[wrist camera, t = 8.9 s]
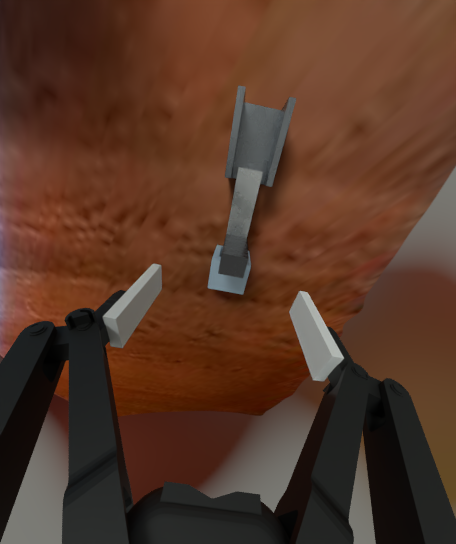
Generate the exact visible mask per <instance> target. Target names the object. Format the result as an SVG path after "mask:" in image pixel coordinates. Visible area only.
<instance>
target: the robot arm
mask: <svg viewBox="0 0 456 544" xmlns="http://www.w3.org/2000/svg"><path fill="white" fill-rule="evenodd" d="M161 290H162V274H161V265H158V264H152V265H151V266H150V267H149V268H148V269H147V270H146V271H145V273H144V274H143V275H142V276H141V277H140V278H139V279H138V280H137V281H136V282H135V283H134V284H133V285H132V286H131V287H130V288H129V289H128V290H127V291H123V290H120V291H118V292H116V293H114V294H113V295H112V296H111V297H110V298H109V299H108V300H107V301H105V303H103V304H102V305H101V306H100V307H99V308H98V309H97V310H96V311H95V312H94V310H92V309H90V308H82V309H78V310H75V311H73V312H71V313H69V314H68V315H67V316H66V318H65V322H66V325H67V326H60V327H55V326H54V324H53V323H52V322H49V321H42V322H38V323H35V324H32V325H30V326H28V327H27V328H25V329H24V330H23V331H22V332H21V333H20V335H19V336H18V338H17V339H16V341H15V342H14V344H13V345H12V347H11V348H10V350H9V351H8V353H7V354H6V356H5V357H4V359H3V360H2V362H1V363H0V542H1V539H2V536H3V533H4V531H5V528H6V525H7V522H8V520H9V517H10V514H11V511H12V508H13V506H14V503H15V500H16V497H17V495H18V492H19V489H20V486H21V483H22V481H23V478H24V475H25V472H26V470H27V467H28V464H29V461H30V458H31V455H32V453H33V450H34V447H35V444H36V442H37V439H38V436H39V433H40V431H41V428H42V425H43V422H44V420H45V417H46V414H47V411H48V408H49V405H50V403H51V400H52V397H53V395H54V392H55V389H56V386H57V383H58V381H59V378H60V375H61V372H62V370H63V367H64V364H65V361H66V360H69V481H68V486H67V489H66V491H65V494H64V499H63V519H62V520H63V521H62V522H63V523H62V544H353V542H354V537H353V531H352V528H351V526H350V525H349V520H348V519H349V510H350V504H351V498H352V492H353V485H354V480H355V473H356V467H357V461H358V454H359V448H360V442H361V436H362V430H363V436H364V445H365V454H366V462H367V471H368V479H369V488H370V497H371V506H372V514H373V523H374V530H375V531H374V532H375V540H376V544H456V518H455V516H454V513H453V511H452V508H451V505H450V502H449V499H448V497H447V494H446V491H445V489H444V486H443V483H442V480H441V478H440V475H439V472H438V470H437V467H436V464H435V461H434V459H433V456H432V454H431V451H430V448H429V445H428V443H427V440H426V437H425V434H424V432H423V429H422V426H421V424H420V421H419V418H418V415H417V413H416V410H415V407H414V405H413V402H412V399H411V397H410V395H409V393H408V392H407V390H406V389H405V388H404V387H403V386H402V385H400V384H399V383H398V382H396V381H394V380H392V379H388V378H386V379H385V380H384V381H382V382H381V381H379V380H377V379H374V378H373V377H370V376H369V375H368V373H367V372H366V371H365V370H364V369H363V368H362V367H361V366H359V365H358V364H356V363H354V362H353V360H352V359H351V357H350V355H349V354H348V352H347V350H346V349H345V347H344V345H343V344H342V342H341V340H340V338H339V337H338V335H337V333H336V332H335V331H334V330H333V329H332V328H331V327H326V325H325V323H324V321H323V319H322V318H321V316H320V314H319V312H318V310H317V309H316V307H315V305H314V303H313V301H312V300H311V298H310V296H309V294H308V292H303V291H299V293H298V295H297V297H296V299H295V301H294V303H293V305H292V307H291V309H290V311H289V313H290V316H291V319H292V322H293V324H294V327H295V330H296V333H297V336H298V339H299V342H300V345H301V347H302V350H303V353H304V356H305V359H306V362H307V365H308V367H309V370H310V373H311V376H312V379H313V380H317V381H324V380H325V379H326V378H327V377H328V379H329V381H330V383H329V384H328V385H327V386H326V387H325V388H324V390H323V391H324V392H325V394H324V396H323V398H322V401H321V403H320V406H319V409H318V412H317V414H316V416H315V419H314V421H313V424H312V426H311V429H310V431H309V434H308V437H307V439H306V442H305V444H304V447H303V449H302V452H301V454H300V457H299V459H298V462H297V464H296V467H295V469H294V472H293V475H292V477H291V480H290V482H289V485H288V487H287V490H286V491H285V493H284V495H283V496H282V498H281V499H280V501H279V503H278V505H277V507H276V509H275V511H274V513H273V512H272V511H271V510H270V509H269V508H268V507H267V506H266V505H265V504H264V503H262V502H261V501H260V495H259V494H252V493H244V492H234V493H230V494H227V495H224V496H221V497H217V498H214V499H213V498H209V497H208V496H206V495H205V494H203V493H201V492H200V491H198V490H196V489H195V488H193V487H191V486H190V485H186V484H179V483H172V482H165V483H164V487H160V488H158V489H155V490H153V491H151V492H150V493H148V494H147V495H145V496H144V497H143V498H141V499H140V500H139V501H138V502H137V503H136V504H135V505H133V499H132V493H131V488H130V482H129V478H128V474H127V469H126V464H125V458H124V452H123V447H122V441H121V435H120V429H119V423H118V417H117V411H116V405H115V400H114V394H113V388H112V382H111V376H110V370H109V364H108V358H107V353H106V348H105V346H106V344H107V343H108V342H110V345H111V346H112V347H118V348H123V346H124V345H125V343H126V342H127V340H128V339H129V337H130V336H131V334H132V333H133V331H134V330H135V328H136V327H137V326H138V324H139V323H140V321H141V320H142V318H143V317H144V315H145V314H146V312H147V311H148V309H149V308H150V306H151V305H152V303H153V302H154V300H155V299H156V297H157V296H158V294H159V293H160V291H161Z"/></svg>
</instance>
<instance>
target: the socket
mask: <svg viewBox="0 0 456 544" xmlns="http://www.w3.org/2000/svg"><path fill="white" fill-rule="evenodd" d="M222 250H223V246H221V245H217V246H216V249H215V252H214V255H213V257H212V262H211V269H210V276H209V282H208V288H210V289H216V290H221V291H226V292H231V293H237V294H242V295H243V293H244V289H245V286H246V282H247V279H248V275H249V272H250V268H251V262H250V252H249V251H248V262H247V266H246V270H245V273H244V277H243V278H238V277H233V276H228V275H223V274H218V271H219V265H220V259H221V254H222Z"/></svg>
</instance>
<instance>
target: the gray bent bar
mask: <svg viewBox="0 0 456 544" xmlns="http://www.w3.org/2000/svg"><path fill="white" fill-rule="evenodd" d="M262 174H263V172H260V171H256V170H251V169H246V168H241V167H239V168H238V173H237V179H236V184H235V190H234V195H233V201H232V207H231V212H230V218H229V223H228V229H227V234H226V238H225V242H224V246H223V250H222V254H221V259H220V265H219V271H218V274H223V275H228V276H233V277H238V278H243V277H244V273H245V270H246V266H247V262H248V246H247V235H248V231H249V227H250V223H251V219H252V215H253V211H254V207H255V202H256V198H257V194H258V190H259V186H260V182H261V178H262Z"/></svg>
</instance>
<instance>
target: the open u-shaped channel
mask: <svg viewBox="0 0 456 544" xmlns="http://www.w3.org/2000/svg"><path fill="white" fill-rule="evenodd" d="M295 102H296V98H292V97H289V98H288V100H287V102H286V103H285V105H284V107H283V108H282V110H277V109H272V108H268V107H263V106H259V105H254V104H249V103H245V87H243V86H238V92H237V98H236V105H235V112H234V118H233V125H232V132H231V139H230V145H229V152H228V159H227V165H226V172H225V177H226V178H235V179H237V173H238V168H239V167H241V168H246V169H251V170H256V171H260V172H263V174H262V178H261V182H260V184H263V185H265V186H269V187H272V184H273V181H274V177H275V174H276V170H277V166H278V163H279V159H280V156H281V152H282V148H283V145H284V141H285V138H286V134H287V130H288V127H289V123H290V120H291V116H292V112H293V109H294V105H295Z"/></svg>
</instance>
